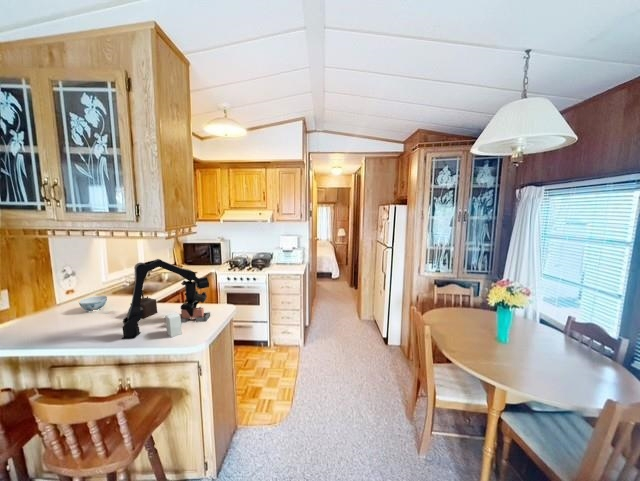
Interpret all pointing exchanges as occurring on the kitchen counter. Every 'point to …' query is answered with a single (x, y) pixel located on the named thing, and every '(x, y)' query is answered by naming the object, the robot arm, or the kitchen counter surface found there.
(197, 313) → the link
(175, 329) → the small box
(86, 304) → the chinaware
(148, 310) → the dark brown boxy piece
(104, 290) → the kitchen counter surface
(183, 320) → the shallow metal tray
